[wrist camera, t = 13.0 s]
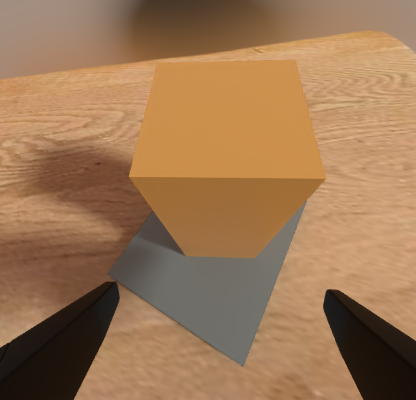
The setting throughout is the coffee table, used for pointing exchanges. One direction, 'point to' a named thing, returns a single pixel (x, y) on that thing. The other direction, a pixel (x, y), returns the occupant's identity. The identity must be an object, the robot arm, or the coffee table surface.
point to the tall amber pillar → (226, 154)
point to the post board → (204, 284)
